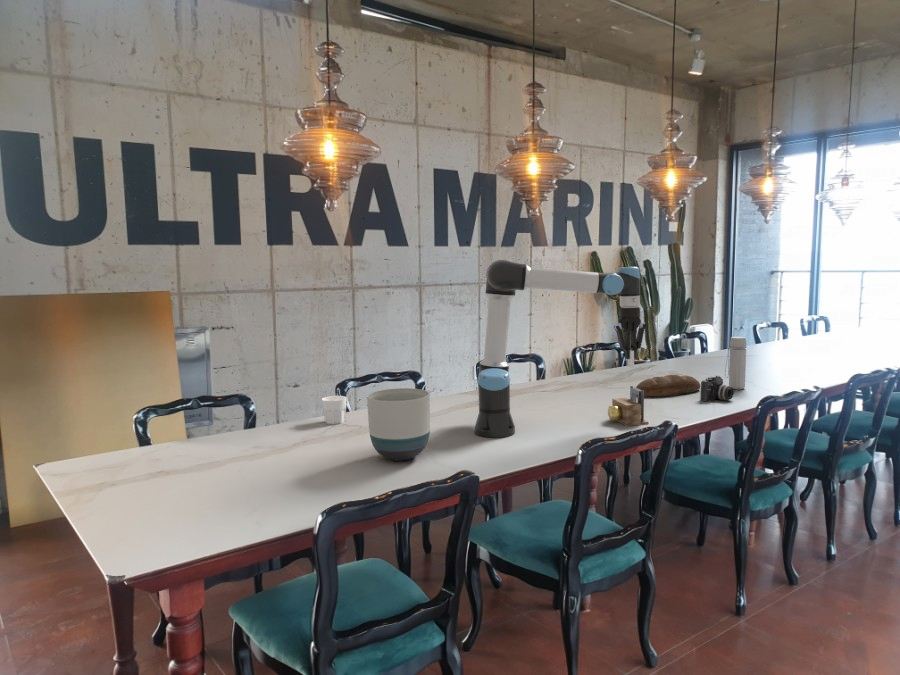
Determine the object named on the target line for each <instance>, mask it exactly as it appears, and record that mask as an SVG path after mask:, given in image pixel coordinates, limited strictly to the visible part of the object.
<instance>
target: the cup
mask: <svg viewBox="0 0 900 675" xmlns="http://www.w3.org/2000/svg"><path fill="white" fill-rule="evenodd" d="M321 403H322V404H321V405H322V408H323V409H322V410H323V417H324V422H325V423H326V422H327V423H326V425H337V424H339V423H341V424H343V423H345V422H346V420H347V418H346V416H347V396H345V395H329V396H324V397H322V398H321Z"/></svg>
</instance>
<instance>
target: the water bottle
mask: <svg viewBox="0 0 900 675" xmlns="http://www.w3.org/2000/svg"><path fill="white" fill-rule="evenodd" d="M746 339H747V337H745V336H731V337H730V341H729V346H728V347H727V355H726V359H727V361H726V363H725V366H727V363H728V374H727V375H728V376H726V373H724V376H725V378H726V379H728V386H730V387H731V388H733V390H744V389H745V387H746V370H747V369H746V367H747V366H746V365H747V364H746V363H747V340H746ZM726 370H727V367H725V369H724V372H727V371H726Z"/></svg>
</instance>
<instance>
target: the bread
mask: <svg viewBox="0 0 900 675" xmlns="http://www.w3.org/2000/svg"><path fill="white" fill-rule="evenodd" d="M635 388H638V389H640V390H644V398H649V397H650V398H652V397H653V398H654V397H658V398H659V397H670V396H671V397H672V396H677V395H678V396H680V395H686V394H690V393H694V392H697V391H698V390H701V382H699V380H697V379H696V378H694V377H693V376H690V375H678V374H667V375H665V376H654V377H652V378H647V379H645V380H643V381H641V382H639V383H638V384H637V385H636V386H635ZM636 396H638V395H637V394H636Z"/></svg>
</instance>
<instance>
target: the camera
mask: <svg viewBox="0 0 900 675" xmlns="http://www.w3.org/2000/svg"><path fill="white" fill-rule="evenodd" d="M734 392H735V391H734V389H733V388H731V387H730V386H729V385H726V384H724V380H723V378H722V377H721V375H715V376H710V377H705V380H701V381H700V399H699V400H700V401H702V402H710V401H714V400H716V399H717V400H721V401H730V400H732V399H733V397H734Z"/></svg>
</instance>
